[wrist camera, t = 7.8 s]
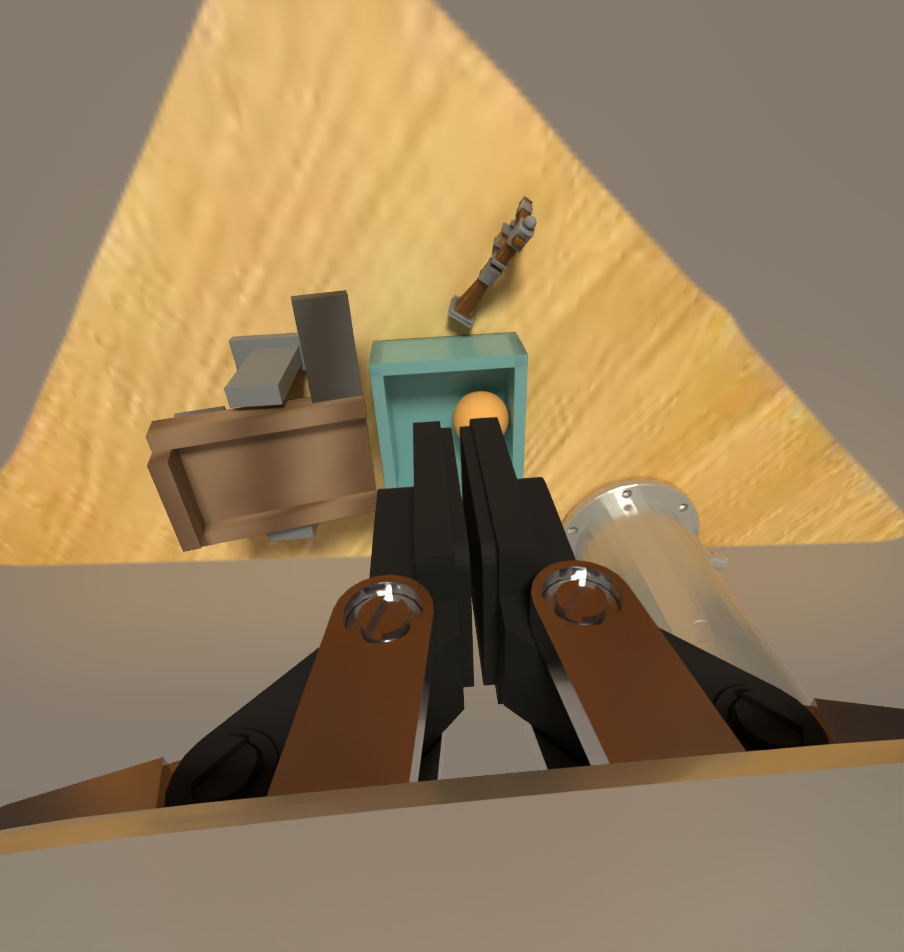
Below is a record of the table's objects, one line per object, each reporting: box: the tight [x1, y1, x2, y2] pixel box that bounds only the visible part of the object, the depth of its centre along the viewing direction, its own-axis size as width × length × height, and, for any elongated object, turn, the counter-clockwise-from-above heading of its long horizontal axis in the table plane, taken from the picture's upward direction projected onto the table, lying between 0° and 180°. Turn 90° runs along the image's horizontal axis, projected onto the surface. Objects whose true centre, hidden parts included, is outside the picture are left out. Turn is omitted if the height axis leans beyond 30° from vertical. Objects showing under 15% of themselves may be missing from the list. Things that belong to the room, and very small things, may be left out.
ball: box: [453, 391, 509, 438], centre depth 37 cm, size 4×4×4 cm
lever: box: [146, 290, 377, 552], centre depth 32 cm, size 12×14×6 cm
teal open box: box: [369, 332, 528, 497], centre depth 38 cm, size 10×11×4 cm
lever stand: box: [224, 333, 318, 541], centre depth 36 cm, size 6×12×8 cm, turn 2°
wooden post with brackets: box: [447, 196, 536, 328], centre depth 33 cm, size 2×8×4 cm, turn 149°
